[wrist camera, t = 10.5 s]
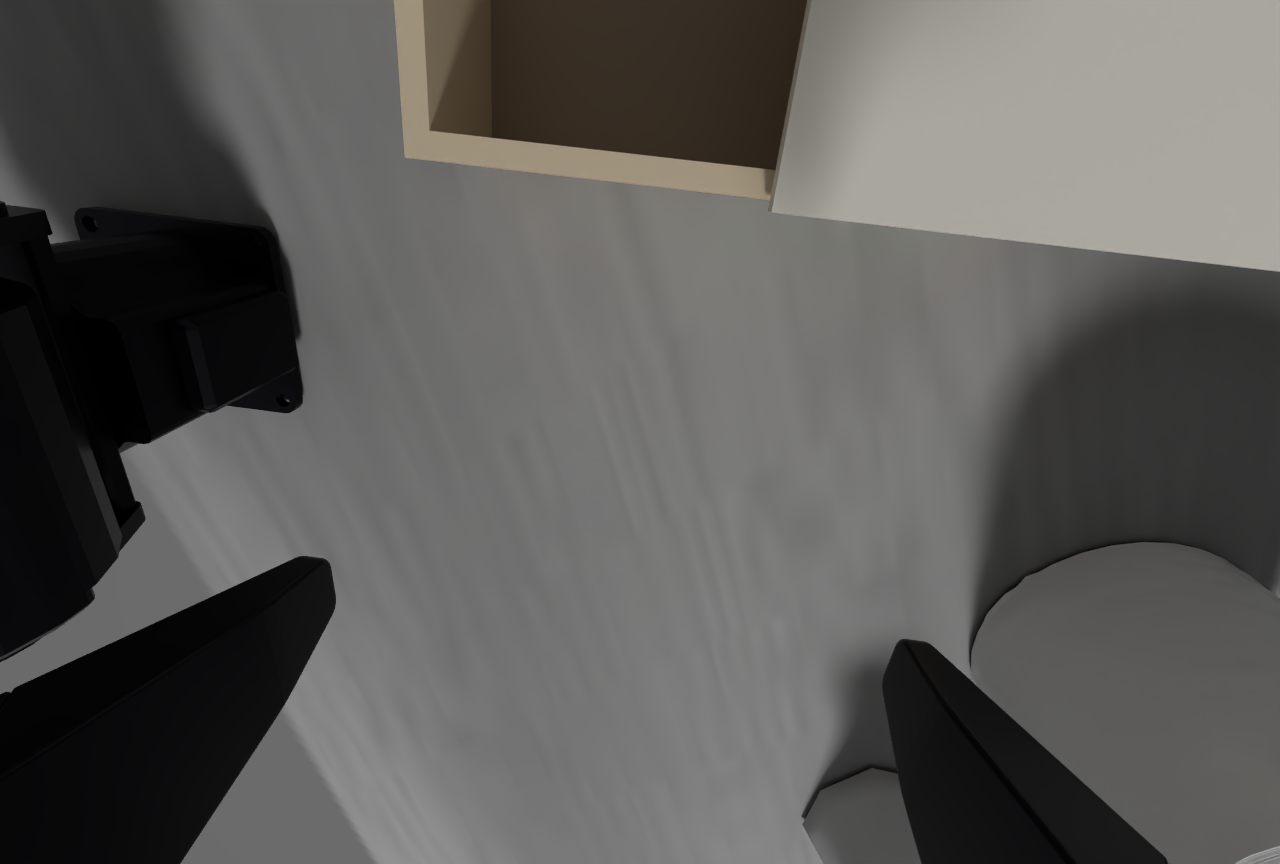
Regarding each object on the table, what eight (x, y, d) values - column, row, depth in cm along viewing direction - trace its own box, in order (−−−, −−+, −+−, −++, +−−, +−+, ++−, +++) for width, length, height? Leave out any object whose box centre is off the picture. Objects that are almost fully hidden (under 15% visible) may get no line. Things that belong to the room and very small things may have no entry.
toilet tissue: (1277, 511, 20) (1748, 792, 11) (1240, 737, 25) (1553, 1066, 16) (956, 568, 22) (1136, 843, 13) (978, 766, 27) (1122, 1070, 18)
